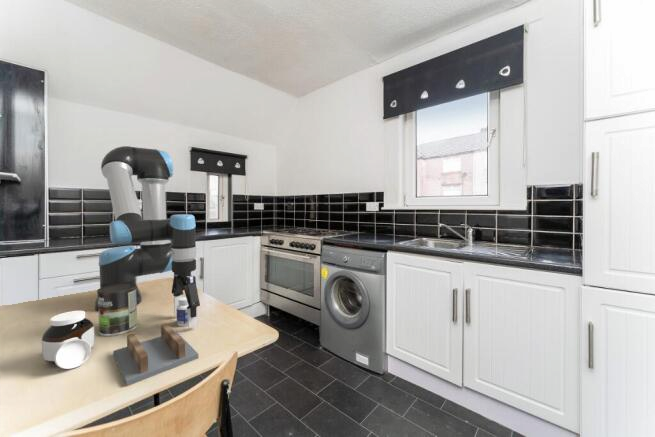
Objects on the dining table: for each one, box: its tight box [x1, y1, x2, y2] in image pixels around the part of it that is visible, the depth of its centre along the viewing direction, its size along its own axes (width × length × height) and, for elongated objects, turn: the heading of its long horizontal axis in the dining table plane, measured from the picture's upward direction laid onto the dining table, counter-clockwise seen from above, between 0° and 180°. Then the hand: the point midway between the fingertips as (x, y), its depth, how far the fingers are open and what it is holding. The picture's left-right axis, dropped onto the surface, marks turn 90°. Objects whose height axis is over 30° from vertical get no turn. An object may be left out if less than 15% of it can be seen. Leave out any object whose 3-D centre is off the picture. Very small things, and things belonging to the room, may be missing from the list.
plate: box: [112, 331, 199, 387], centre depth 75 cm, size 18×16×1 cm
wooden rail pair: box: [126, 322, 185, 373], centre depth 75 cm, size 16×10×4 cm, turn 46°
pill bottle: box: [176, 296, 188, 327], centre depth 95 cm, size 5×5×9 cm
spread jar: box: [41, 310, 95, 370], centre depth 73 cm, size 12×11×12 cm
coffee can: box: [96, 283, 138, 337], centre depth 91 cm, size 10×10×14 cm
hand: (185, 319), depth 96 cm, fingers open, 13 cm apart
